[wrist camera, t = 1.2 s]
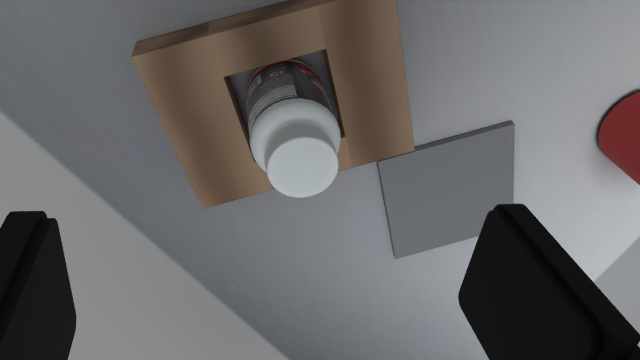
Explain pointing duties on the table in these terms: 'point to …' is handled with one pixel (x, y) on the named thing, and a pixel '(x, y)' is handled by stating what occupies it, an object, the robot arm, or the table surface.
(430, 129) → the table surface
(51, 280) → the robot arm
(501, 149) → the charcoal mat
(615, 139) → the beer can
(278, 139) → the pill bottle
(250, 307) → the table surface
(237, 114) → the brown flat hollow frame
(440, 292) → the table surface
